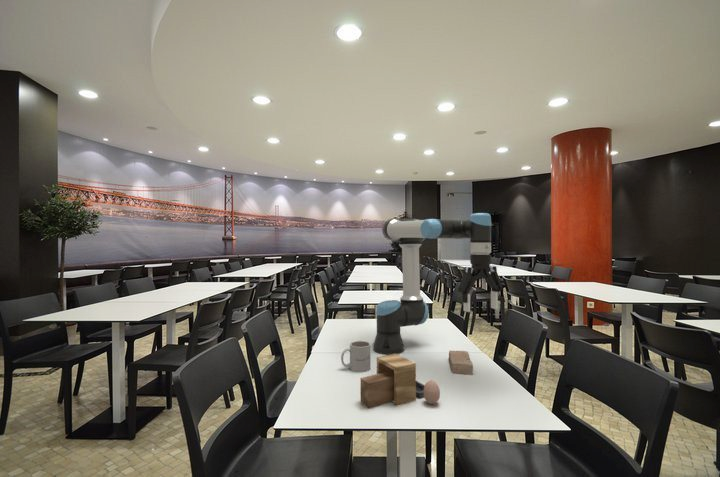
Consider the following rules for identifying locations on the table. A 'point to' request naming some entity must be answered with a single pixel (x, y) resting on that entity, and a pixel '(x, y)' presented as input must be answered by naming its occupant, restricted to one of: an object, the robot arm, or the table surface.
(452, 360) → the brick
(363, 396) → the walnut block
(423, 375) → the table surface
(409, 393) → the tunnel
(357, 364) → the mug
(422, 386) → the tray
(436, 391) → the egg
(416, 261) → the robot arm
